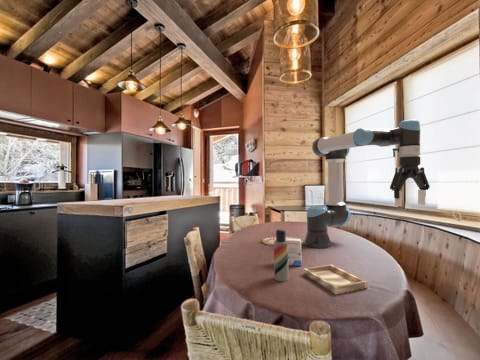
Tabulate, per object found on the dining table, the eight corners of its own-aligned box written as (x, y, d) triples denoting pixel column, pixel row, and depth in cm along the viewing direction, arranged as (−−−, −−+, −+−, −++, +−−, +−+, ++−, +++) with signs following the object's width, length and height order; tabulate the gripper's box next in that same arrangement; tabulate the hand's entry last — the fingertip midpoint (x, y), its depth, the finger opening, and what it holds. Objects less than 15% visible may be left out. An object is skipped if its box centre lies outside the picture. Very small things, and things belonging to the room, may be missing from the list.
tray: (303, 274, 108) (303, 268, 108) (331, 269, 112) (331, 264, 112) (335, 294, 89) (335, 287, 89) (367, 288, 93) (367, 281, 93)
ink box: (302, 263, 122) (301, 238, 121) (301, 266, 117) (300, 241, 117) (284, 261, 124) (283, 237, 124) (282, 264, 120) (281, 239, 120)
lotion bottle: (273, 276, 106) (272, 228, 106) (286, 275, 106) (285, 228, 106) (276, 282, 100) (275, 231, 100) (290, 281, 101) (289, 230, 100)
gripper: (395, 155, 103) (396, 207, 103) (439, 155, 110) (439, 204, 111) (380, 156, 110) (380, 205, 110) (422, 157, 118) (422, 203, 118)
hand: (410, 205), depth 110 cm, fingers open, 13 cm apart
